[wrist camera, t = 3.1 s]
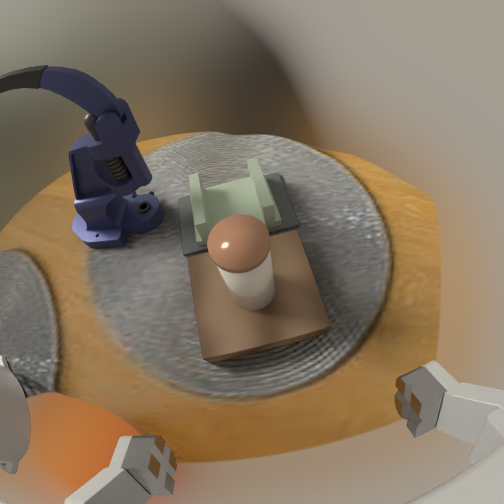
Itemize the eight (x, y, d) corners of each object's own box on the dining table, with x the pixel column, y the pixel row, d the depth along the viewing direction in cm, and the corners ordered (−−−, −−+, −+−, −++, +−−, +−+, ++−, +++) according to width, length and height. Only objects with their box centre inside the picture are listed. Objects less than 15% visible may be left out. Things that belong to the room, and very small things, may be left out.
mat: (184, 256, 34) (183, 254, 34) (178, 200, 39) (177, 199, 38) (299, 225, 34) (299, 223, 34) (278, 174, 39) (278, 172, 38)
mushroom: (235, 316, 27) (212, 274, 19) (227, 275, 29) (203, 223, 21) (281, 304, 27) (277, 258, 19) (269, 264, 29) (261, 208, 22)
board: (210, 362, 27) (203, 358, 25) (194, 268, 33) (187, 257, 31) (327, 332, 27) (331, 325, 25) (296, 241, 33) (296, 229, 31)
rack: (198, 246, 34) (188, 227, 31) (192, 197, 38) (183, 176, 35) (281, 224, 34) (280, 202, 31) (264, 178, 38) (261, 156, 35)
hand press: (179, 190, 40) (102, 2, 16) (168, 242, 35) (51, 30, 11) (78, 205, 42) (-12, 74, 18) (61, 251, 37) (-54, 118, 13)
